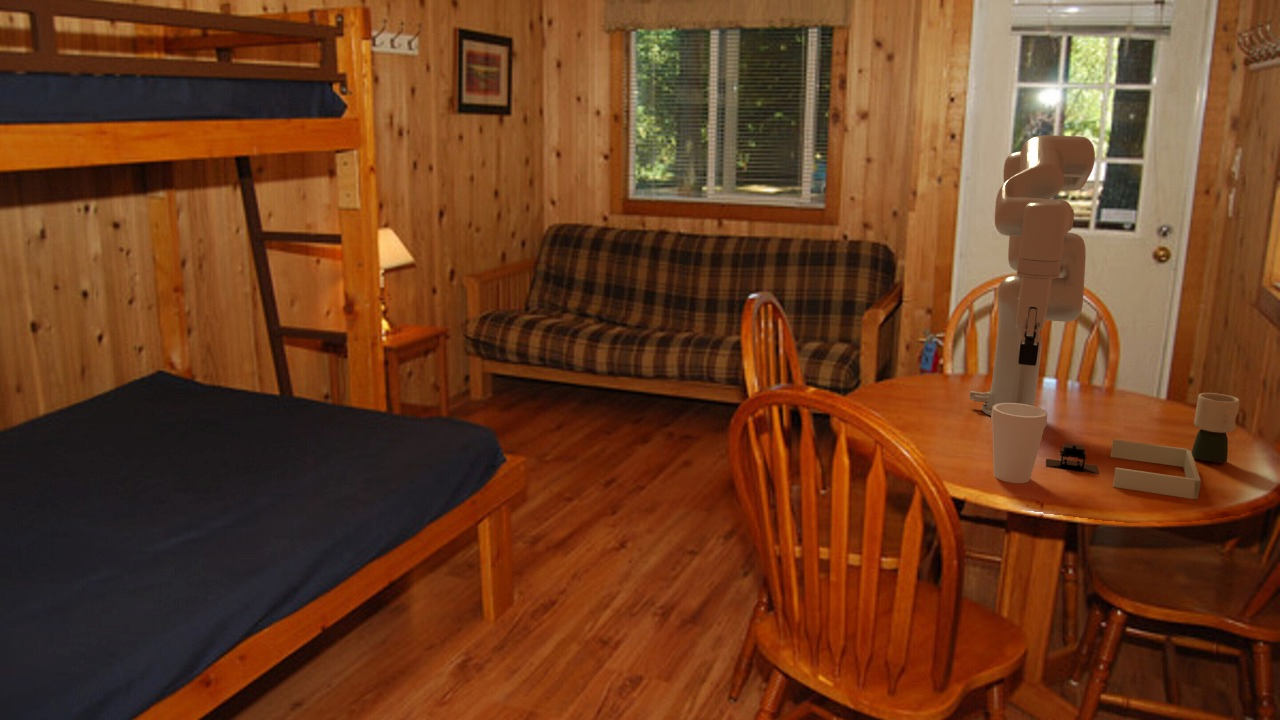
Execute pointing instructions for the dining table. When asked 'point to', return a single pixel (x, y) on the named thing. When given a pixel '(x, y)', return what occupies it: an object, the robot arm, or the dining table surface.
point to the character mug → (1214, 425)
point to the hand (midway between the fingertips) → (1027, 362)
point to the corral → (1155, 481)
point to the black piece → (1065, 464)
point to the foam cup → (1016, 440)
